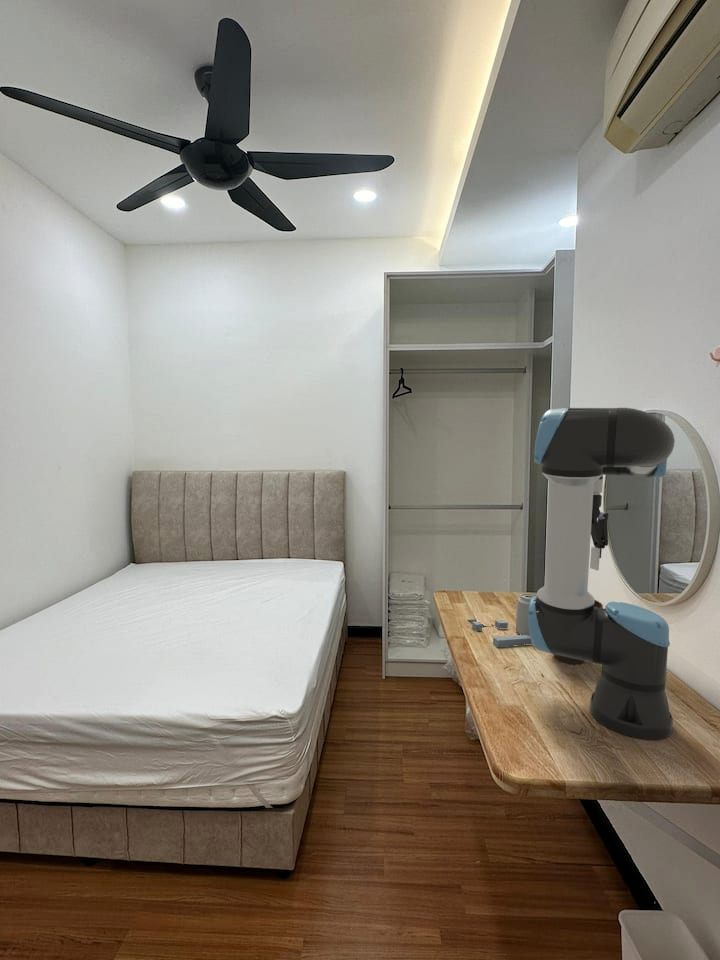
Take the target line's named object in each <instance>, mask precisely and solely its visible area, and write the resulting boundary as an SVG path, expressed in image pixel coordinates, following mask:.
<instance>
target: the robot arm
mask: <svg viewBox="0 0 720 960" xmlns="http://www.w3.org/2000/svg"><path fill="white" fill-rule="evenodd" d="M674 448H675V435H674V433H673V431H672V429H671V428H670V426H669V425H668V424H667V423H666V422H665V421H664V420H662V419H661V418H659V417H657V416H655V415H654V414H652V413H649V412H646V411H644V410H641V409H637V408H631V407H563V408H550V409H548V410H547V411H545V412H544V413H543V415H542V416H541V419H540V422H539V426H538V428H537V434H536V437H535V443H534V451H533V454H534V455H533V461H534V463H535V464H537V465H541V474H542V475H543V476H544V477H545V478H546V479H547V481H548V498H547V499H548V502H547V521H546V522H547V524H546V526H547V527H546V544H545V545H546V546H545V547H546V549H545V569H544V571H545V574H544V586H542V587H540V588H539V589H538V590H537V593H536V595H537V596H536V597H532V598H531V600H530V604H529V616H528V624H529V634H530V639H531V642H532V645H533V647H534V648H535V649H536V650H537V651H540V652H543V653H544V652H545V653H548V654H551V655H553V656H554V655H560V656H564V657H569V658H573V659H578V660H583V661H584V662H587V663H588V662H589V663H592V664H593V663H594V664H597V665H601V672H600V677H599V679H598V682H597V683H596V687H595V689H594V692H593V693H592V694H591V696H590V700H589V712H590V714H591V715H592V717H593V718H594V719H595V720H596V721H598V722H599V723H600V724H602V725H603V726H605V727H606V728H609V729H610V730H613V731H614V732H617V731H618V732H617V733H620V734H622V733H623V735H625V734H626V736H628V735H629V737H632V738H636V739H637V738H638V739H643V740H661V739H665V738H666V739H667V738H668V737H670V736H671V735H672V733H673V726H674V725H673V724H674V721H673V719H674V718H673V715H672V713H671V712H670V705H669V702H668V697H667V694H666V680H667V668H668V667H667V664H668V653H669V651H668V650H669V647H670V644H671V643H670V627H669V624H668V622H667V621H666V620H665V618H663V617H662V616H661V615H659V614H657V613H656V612H654V611H652V610H649V609H647V608H644V607H642V606H639V605H636V604H632V603H628V602H627V603H626V602H621V601H618V602H617V601H610V602H609V601H608V603H606V605H604V607H603V608H598V607H594V603H595V600H596V599H595V597H594V596H593V595H592V594H591V593H590V592H589V591H588V587H589V584H588V583H589V574H590V572H589V569H592V570H595V571H599V570H600V569H599V568H600V559H602V549H605V548H606V547H607V546H608V545H609V535H608V533H609V532H608V531H609V530H608V520H609V513H607V512H603V511H601V510H600V508H601V507H602V499H603V498H602V497H603V496H602V493H603V485H604V484H603V483H604V476H608V475H609V476H625V477H640V478H641V477H642V478H651V479H652V478H663V477H664V476H665V475H666V471H667V464H668V462H667V461H668V458H669V457H670V456H671V454H672V453H673V450H674ZM591 539H592V544H593V546H591Z"/></svg>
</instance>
